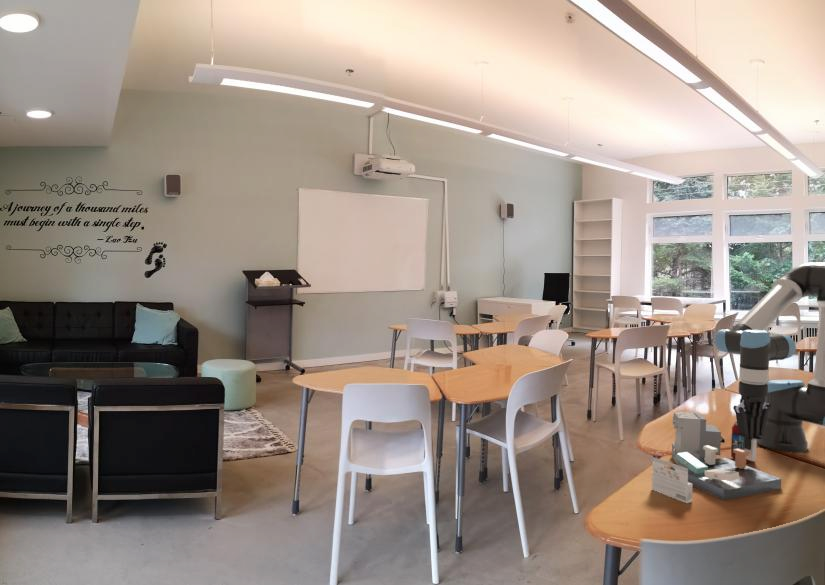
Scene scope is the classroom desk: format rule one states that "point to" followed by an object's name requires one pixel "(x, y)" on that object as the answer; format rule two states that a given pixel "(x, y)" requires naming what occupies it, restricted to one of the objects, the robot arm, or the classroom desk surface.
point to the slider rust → (740, 458)
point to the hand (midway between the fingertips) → (750, 459)
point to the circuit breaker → (694, 435)
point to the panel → (733, 481)
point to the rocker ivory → (722, 475)
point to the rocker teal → (691, 462)
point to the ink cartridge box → (671, 481)
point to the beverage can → (737, 441)
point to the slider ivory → (710, 454)
